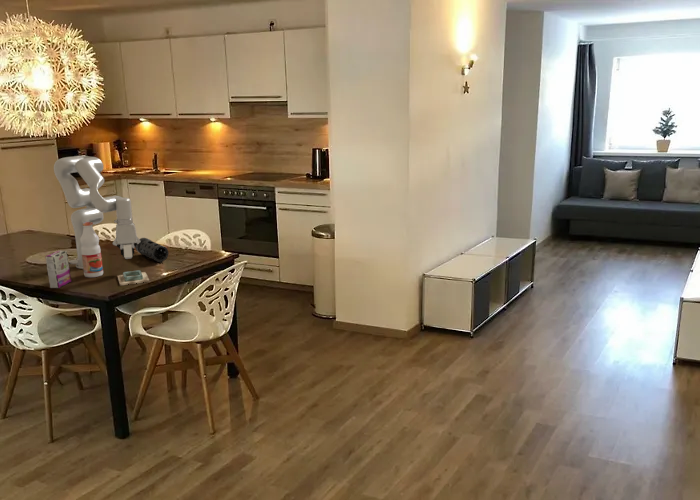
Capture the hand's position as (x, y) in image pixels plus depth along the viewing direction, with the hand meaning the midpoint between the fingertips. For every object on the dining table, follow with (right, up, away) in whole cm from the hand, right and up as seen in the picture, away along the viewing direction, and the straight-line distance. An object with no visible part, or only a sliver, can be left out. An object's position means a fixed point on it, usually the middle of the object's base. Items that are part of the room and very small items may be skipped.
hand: (127, 255), depth 336 cm
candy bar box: (-28, -15, -17) cm, 36 cm away
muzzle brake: (+4, -2, +30) cm, 30 cm away
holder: (+6, -12, -10) cm, 17 cm away
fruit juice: (-17, -11, -1) cm, 20 cm away
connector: (0, -1, 0) cm, 1 cm away
